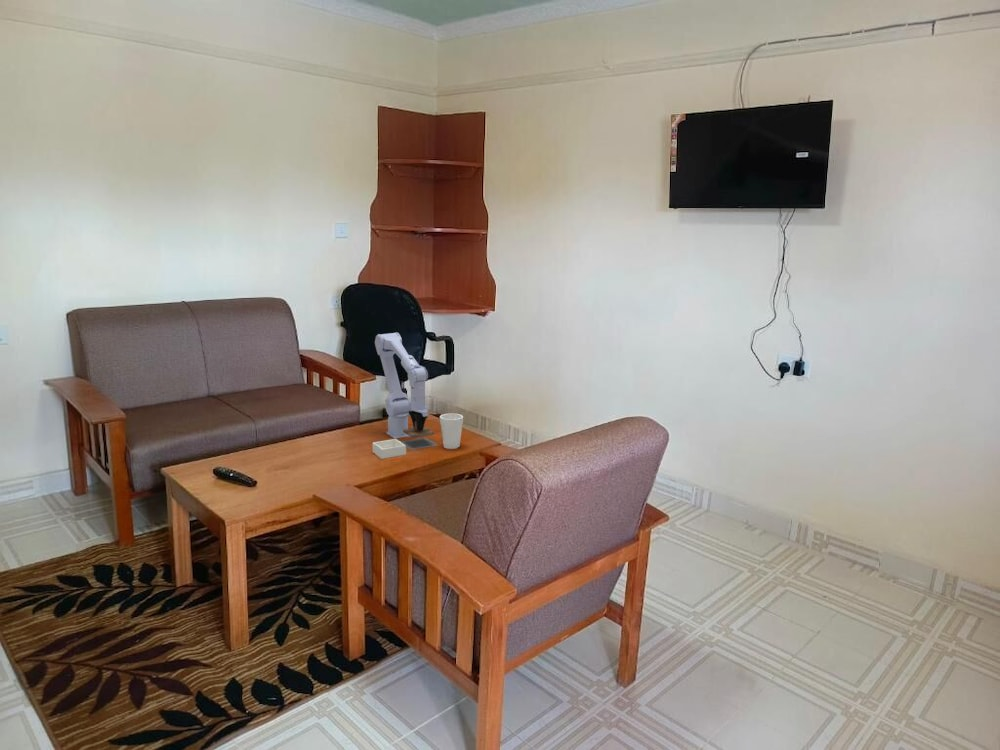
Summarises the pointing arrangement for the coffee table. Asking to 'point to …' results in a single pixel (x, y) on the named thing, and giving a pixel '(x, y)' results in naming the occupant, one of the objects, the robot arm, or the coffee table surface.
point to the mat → (418, 443)
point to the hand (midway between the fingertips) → (418, 429)
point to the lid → (418, 432)
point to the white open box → (389, 448)
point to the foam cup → (451, 430)
